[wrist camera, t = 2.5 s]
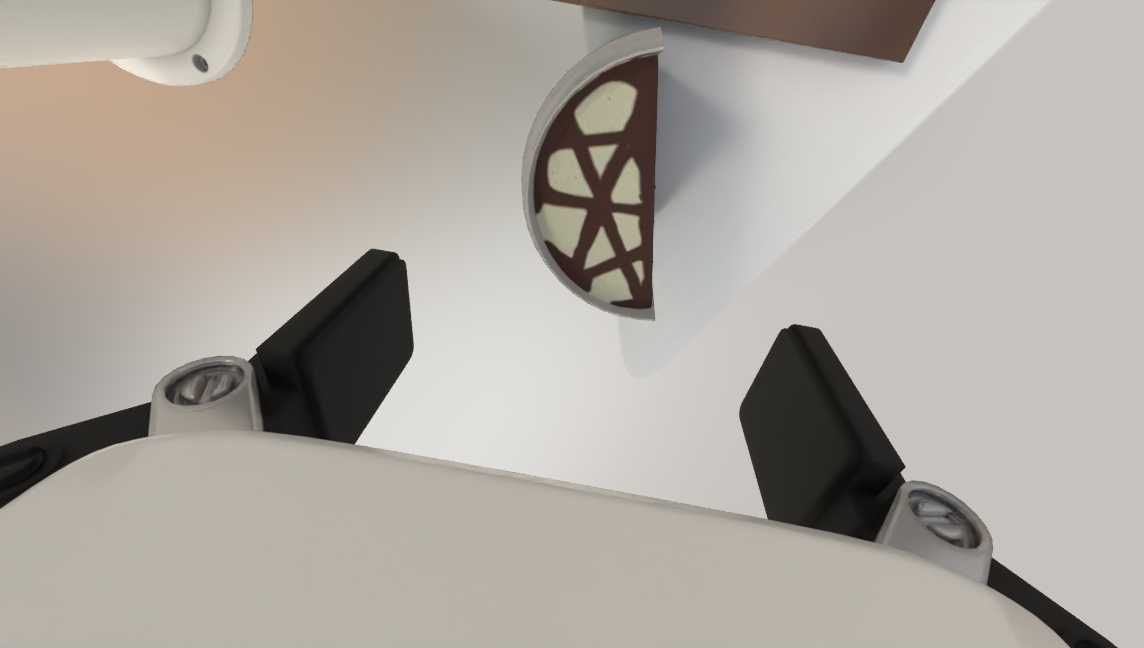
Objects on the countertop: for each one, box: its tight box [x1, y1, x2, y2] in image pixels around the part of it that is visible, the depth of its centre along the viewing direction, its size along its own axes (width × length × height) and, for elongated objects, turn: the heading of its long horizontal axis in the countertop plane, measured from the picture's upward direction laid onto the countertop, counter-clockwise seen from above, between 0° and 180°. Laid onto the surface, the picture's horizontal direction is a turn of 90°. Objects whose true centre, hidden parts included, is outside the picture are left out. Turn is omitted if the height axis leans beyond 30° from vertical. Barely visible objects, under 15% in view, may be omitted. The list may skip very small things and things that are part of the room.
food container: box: [521, 27, 664, 321], centre depth 22 cm, size 12×6×10 cm, turn 5°
